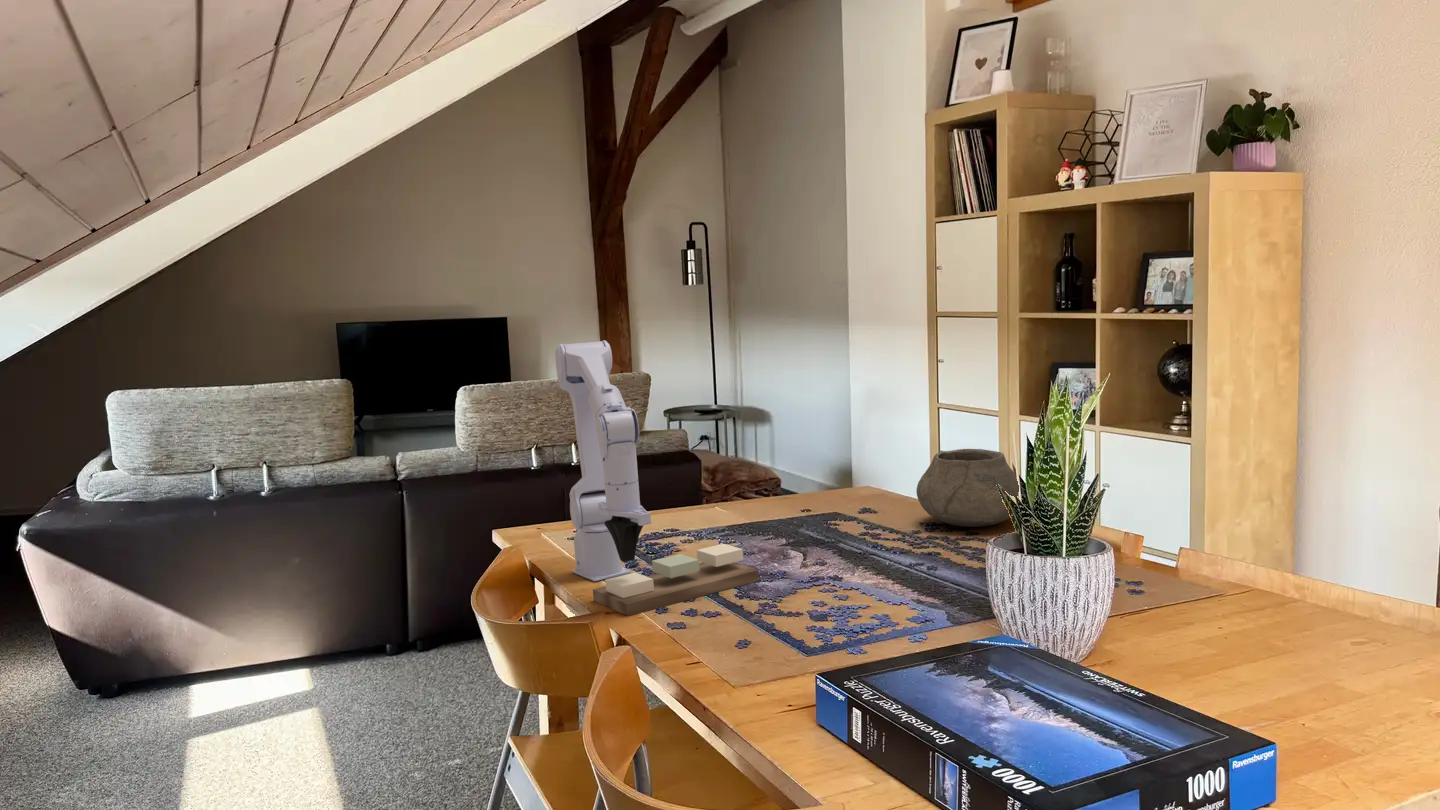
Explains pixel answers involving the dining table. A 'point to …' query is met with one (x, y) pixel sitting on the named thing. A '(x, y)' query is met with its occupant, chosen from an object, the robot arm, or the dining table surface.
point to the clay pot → (967, 487)
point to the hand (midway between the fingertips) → (627, 560)
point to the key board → (680, 588)
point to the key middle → (675, 565)
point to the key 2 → (720, 555)
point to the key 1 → (629, 585)
